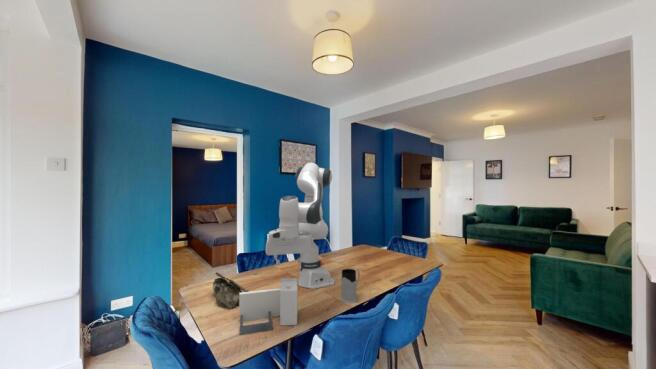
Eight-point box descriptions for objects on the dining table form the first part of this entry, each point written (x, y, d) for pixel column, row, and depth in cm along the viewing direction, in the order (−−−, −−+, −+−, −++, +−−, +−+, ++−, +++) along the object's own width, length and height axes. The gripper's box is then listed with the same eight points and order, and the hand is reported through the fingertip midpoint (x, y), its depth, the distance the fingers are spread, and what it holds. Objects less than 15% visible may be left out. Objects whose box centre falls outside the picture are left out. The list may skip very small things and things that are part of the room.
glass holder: (337, 300, 140) (337, 271, 140) (352, 291, 151) (352, 265, 151) (350, 304, 134) (350, 275, 134) (365, 295, 145) (365, 268, 145)
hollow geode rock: (218, 299, 151) (198, 284, 145) (235, 280, 157) (216, 265, 151) (234, 317, 129) (211, 300, 123) (252, 294, 135) (231, 277, 129)
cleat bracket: (270, 317, 120) (270, 311, 121) (272, 329, 110) (272, 322, 110) (240, 322, 117) (240, 315, 117) (239, 334, 107) (239, 327, 107)
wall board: (296, 311, 127) (296, 286, 127) (297, 313, 125) (297, 287, 125) (239, 319, 119) (239, 292, 119) (239, 321, 117) (239, 294, 117)
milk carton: (281, 317, 121) (281, 275, 121) (297, 317, 121) (297, 275, 121) (280, 325, 114) (280, 281, 114) (296, 325, 114) (296, 280, 114)
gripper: (310, 230, 124) (310, 260, 124) (265, 232, 118) (265, 263, 118) (313, 232, 118) (313, 263, 118) (266, 234, 112) (266, 267, 112)
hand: (288, 263), depth 118 cm, fingers open, 8 cm apart
